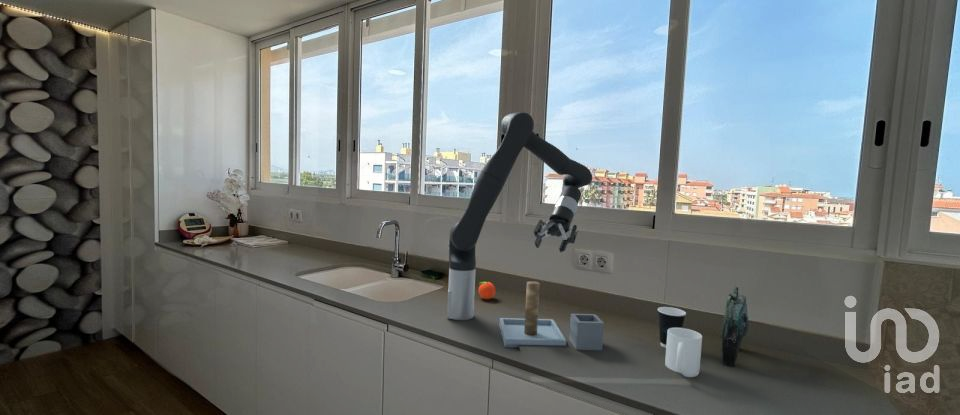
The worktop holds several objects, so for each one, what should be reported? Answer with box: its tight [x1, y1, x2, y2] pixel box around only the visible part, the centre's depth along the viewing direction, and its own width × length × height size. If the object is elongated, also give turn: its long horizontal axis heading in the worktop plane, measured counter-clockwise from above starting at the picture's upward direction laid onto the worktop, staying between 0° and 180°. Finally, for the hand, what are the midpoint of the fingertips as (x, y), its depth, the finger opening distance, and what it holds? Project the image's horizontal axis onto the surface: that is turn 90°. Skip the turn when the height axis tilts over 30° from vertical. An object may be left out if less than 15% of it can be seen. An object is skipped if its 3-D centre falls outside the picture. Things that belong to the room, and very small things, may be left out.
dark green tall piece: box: [721, 286, 749, 368], centre depth 122 cm, size 20×6×20 cm, turn 144°
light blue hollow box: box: [568, 313, 605, 351], centre depth 123 cm, size 8×8×9 cm
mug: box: [664, 327, 703, 378], centre depth 109 cm, size 12×8×10 cm
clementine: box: [475, 281, 496, 300], centre depth 169 cm, size 8×7×7 cm
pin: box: [524, 280, 541, 336], centre depth 130 cm, size 4×4×16 cm
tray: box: [498, 317, 567, 349], centre depth 131 cm, size 18×18×2 cm
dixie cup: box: [657, 306, 687, 349], centre depth 128 cm, size 8×8×11 cm
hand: (548, 248), depth 139 cm, fingers open, 8 cm apart
